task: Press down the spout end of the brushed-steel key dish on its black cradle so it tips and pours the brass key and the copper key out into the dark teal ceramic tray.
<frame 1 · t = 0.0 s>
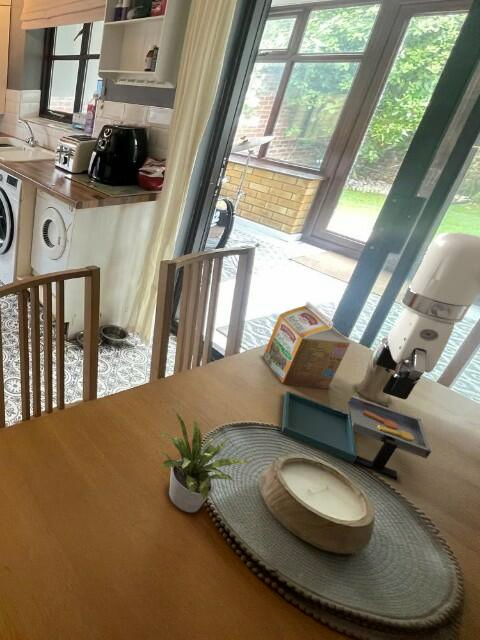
hand: (389, 380, 78), 20 cm above the table, tool pointing down, fingers open, 9 cm apart
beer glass: (371, 394, 102), on the table
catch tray: (315, 426, 93), on the table
copper key: (380, 420, 86), point 6 cm above the table, touching key dish
dish cradle: (371, 448, 87), on the table
house plant: (176, 494, 77), on the table
key dish: (386, 424, 85), point 7 cm above the table, hinge at 0.0°, touching brass key, copper key
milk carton: (293, 372, 110), on the table
brass key: (395, 433, 83), point 6 cm above the table, touching key dish
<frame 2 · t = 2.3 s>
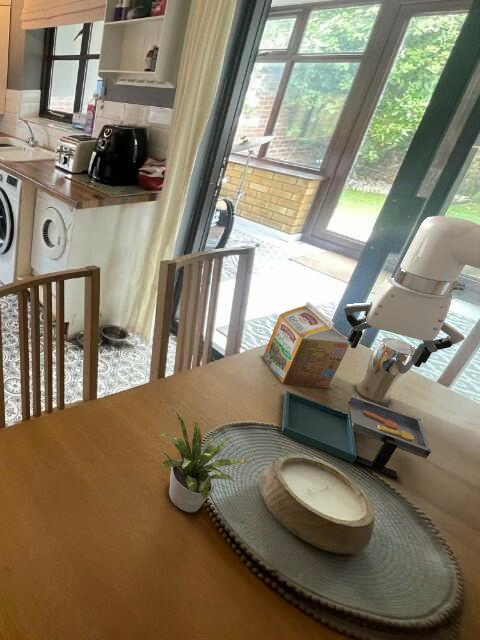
hand: (382, 353, 85), 20 cm above the table, tool pointing down, fingers open, 9 cm apart
nothing on the table moved.
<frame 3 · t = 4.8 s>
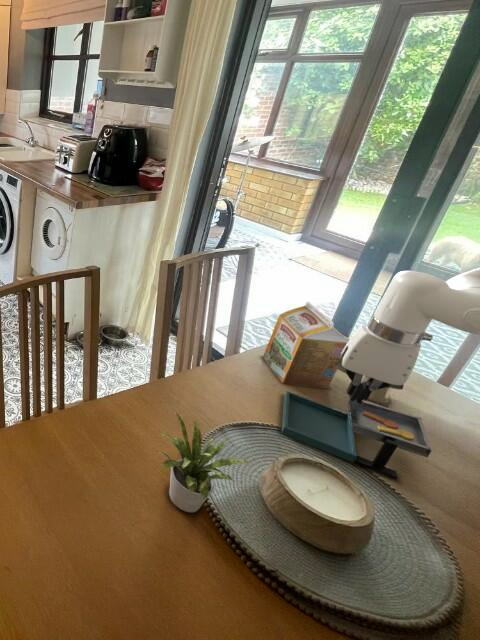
hand: (354, 398, 90), 8 cm above the table, tool pointing down, fingers closed
key dish: (386, 424, 85), point 7 cm above the table, hinge at 3.9°, touching brass key, copper key, gripper
everything else where it was.
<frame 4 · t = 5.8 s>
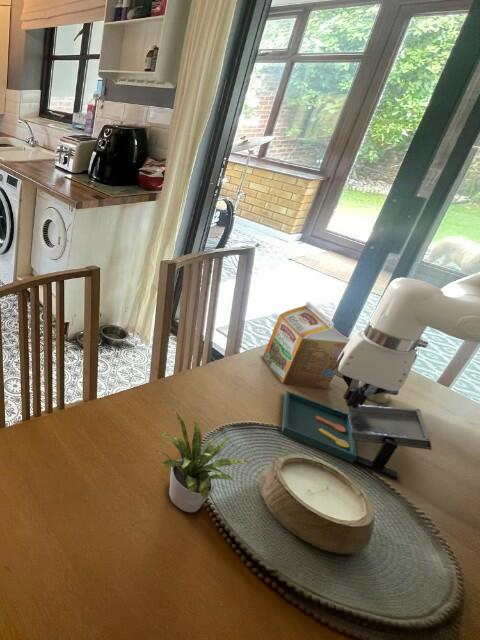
hand: (350, 403, 91), 6 cm above the table, tool pointing down, fingers closed
copper key: (330, 425, 93), resting on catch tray
key dish: (386, 424, 85), point 7 cm above the table, hinge at 24.6°, touching gripper
brass key: (333, 439, 89), resting on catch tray
everything else where it was.
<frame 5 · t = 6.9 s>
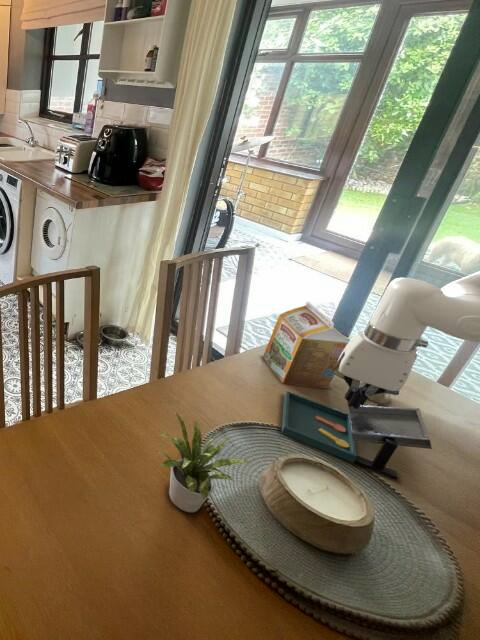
hand: (351, 403, 91), 6 cm above the table, tool pointing down, fingers closed
key dish: (386, 424, 85), point 7 cm above the table, hinge at 26.6°
everything else where it was.
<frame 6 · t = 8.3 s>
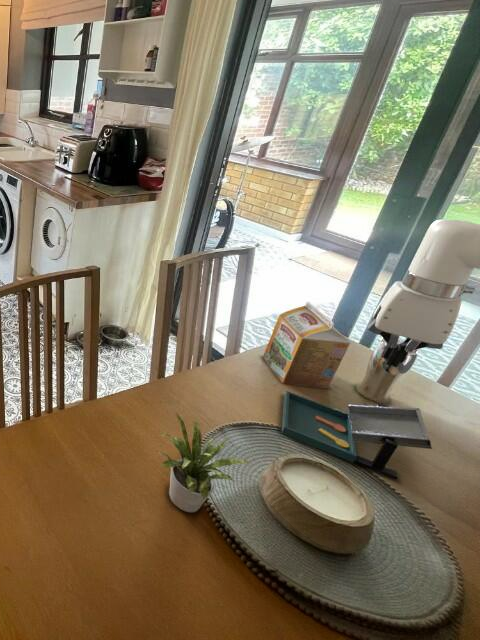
hand: (390, 362, 85), 19 cm above the table, tool pointing down, fingers closed
nothing on the table moved.
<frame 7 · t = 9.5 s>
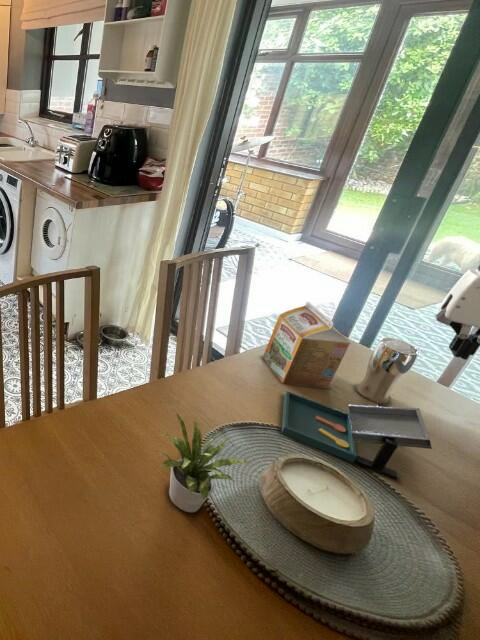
hand: (458, 354, 80), 23 cm above the table, tool pointing down, fingers closed
nothing on the table moved.
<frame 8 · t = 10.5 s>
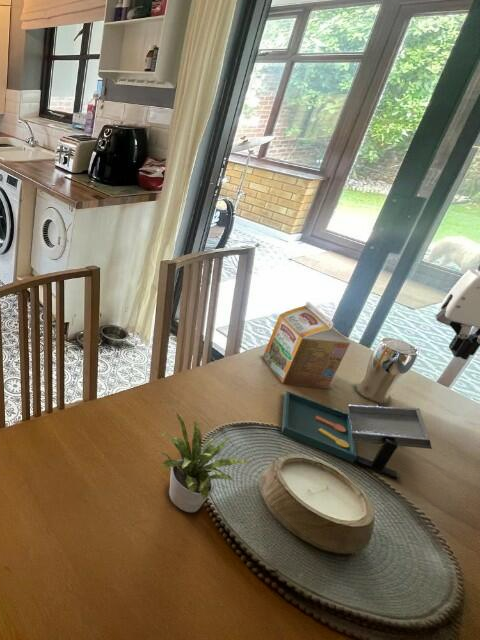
hand: (458, 354, 80), 23 cm above the table, tool pointing down, fingers closed
nothing on the table moved.
at the end: brass key inside the target area in the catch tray (3.9 cm from its centre), point 0.5 cm above the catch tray's base; copper key inside the target area in the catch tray (3.3 cm from its centre), point 0.5 cm above the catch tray's base; key dish reached +27° during the clip, +27° at the end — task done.
